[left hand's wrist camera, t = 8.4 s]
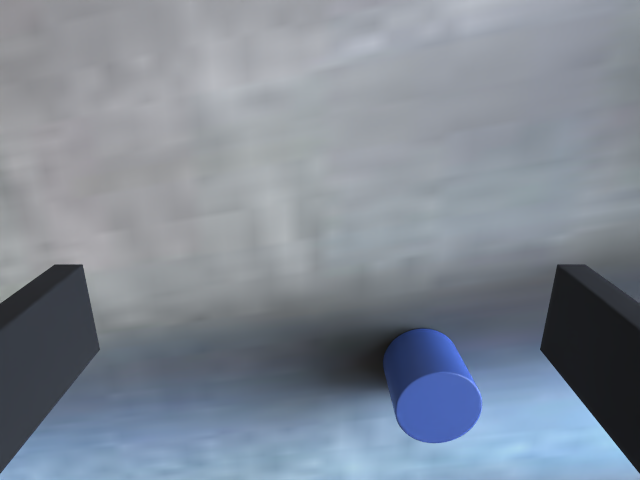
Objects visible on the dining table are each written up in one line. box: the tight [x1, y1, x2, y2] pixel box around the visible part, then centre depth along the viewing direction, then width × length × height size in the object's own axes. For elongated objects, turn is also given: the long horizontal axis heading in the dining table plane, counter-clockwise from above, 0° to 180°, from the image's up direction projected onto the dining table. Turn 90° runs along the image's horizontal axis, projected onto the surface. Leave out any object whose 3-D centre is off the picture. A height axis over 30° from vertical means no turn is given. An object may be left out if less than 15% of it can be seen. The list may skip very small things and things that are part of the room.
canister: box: [383, 329, 482, 443], centre depth 25 cm, size 4×4×4 cm
